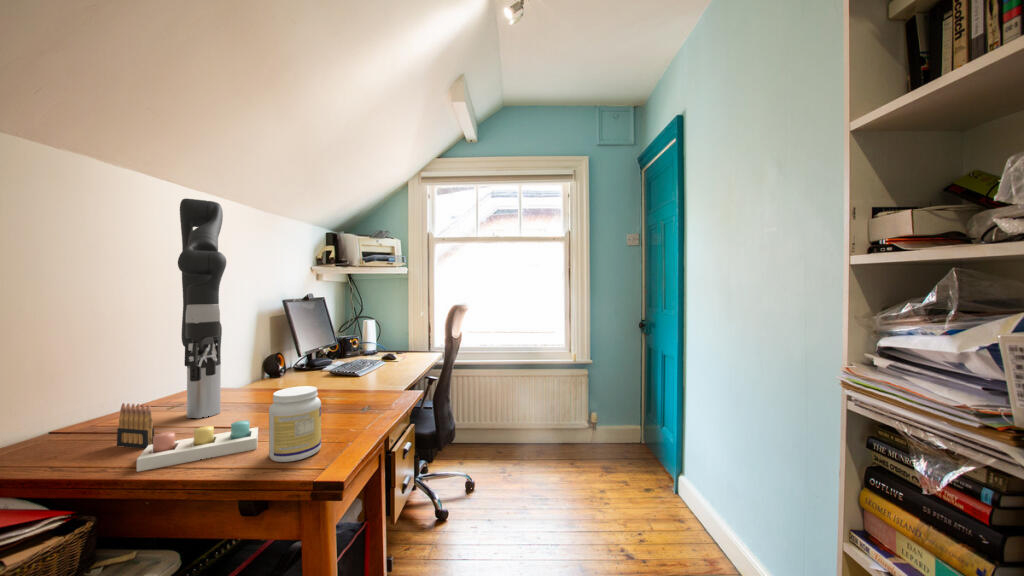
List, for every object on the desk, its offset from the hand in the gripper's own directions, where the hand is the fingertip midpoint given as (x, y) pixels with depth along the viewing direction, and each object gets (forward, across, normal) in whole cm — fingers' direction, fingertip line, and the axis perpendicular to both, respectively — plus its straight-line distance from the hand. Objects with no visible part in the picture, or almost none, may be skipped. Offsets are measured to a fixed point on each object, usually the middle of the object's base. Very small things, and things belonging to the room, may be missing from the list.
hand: (203, 378), depth 105 cm
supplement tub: (+20, +12, +26) cm, 35 cm away
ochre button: (+17, +4, +2) cm, 18 cm away
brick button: (+17, +6, -6) cm, 19 cm away
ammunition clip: (+19, -7, -19) cm, 27 cm away
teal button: (+17, +2, +10) cm, 20 cm away
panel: (+19, +4, +2) cm, 20 cm away
